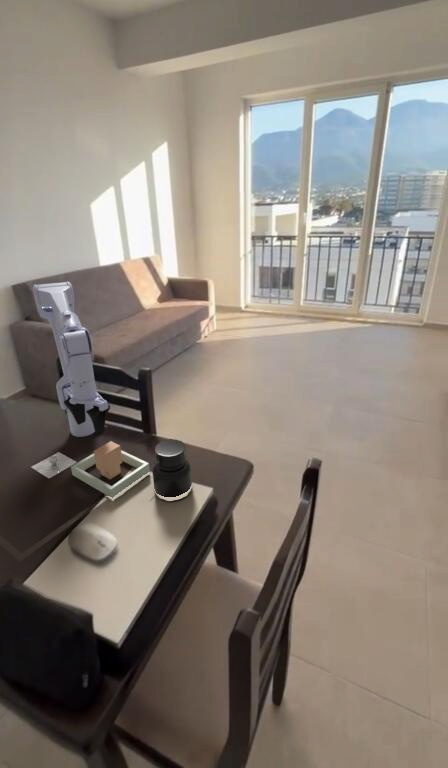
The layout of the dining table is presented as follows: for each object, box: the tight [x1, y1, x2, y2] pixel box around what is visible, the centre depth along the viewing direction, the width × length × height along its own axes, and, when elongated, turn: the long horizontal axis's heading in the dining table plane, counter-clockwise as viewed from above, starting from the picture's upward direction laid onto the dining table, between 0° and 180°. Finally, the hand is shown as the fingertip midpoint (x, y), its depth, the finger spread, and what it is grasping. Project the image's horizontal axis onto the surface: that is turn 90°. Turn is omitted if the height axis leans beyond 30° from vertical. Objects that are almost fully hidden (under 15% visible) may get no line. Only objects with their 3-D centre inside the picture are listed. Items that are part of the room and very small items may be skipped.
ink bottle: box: [152, 439, 193, 497], centre depth 89 cm, size 10×9×12 cm
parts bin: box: [70, 449, 151, 498], centre depth 96 cm, size 12×15×4 cm
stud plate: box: [30, 451, 78, 479], centre depth 99 cm, size 8×8×4 cm
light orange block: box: [93, 440, 124, 480], centre depth 95 cm, size 3×5×8 cm, turn 144°
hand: (90, 427), depth 100 cm, fingers open, 7 cm apart
